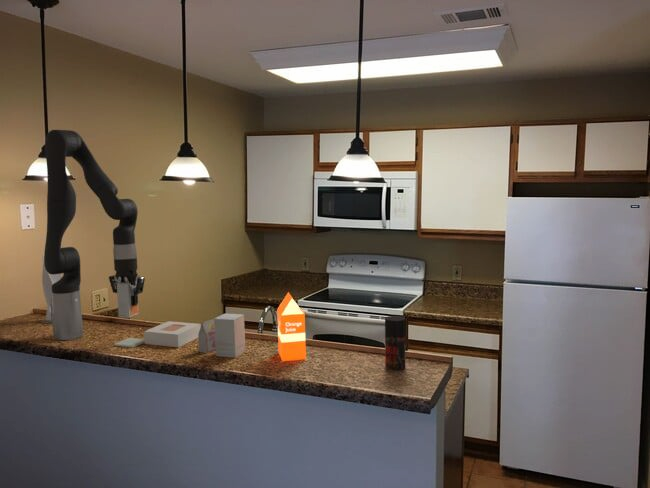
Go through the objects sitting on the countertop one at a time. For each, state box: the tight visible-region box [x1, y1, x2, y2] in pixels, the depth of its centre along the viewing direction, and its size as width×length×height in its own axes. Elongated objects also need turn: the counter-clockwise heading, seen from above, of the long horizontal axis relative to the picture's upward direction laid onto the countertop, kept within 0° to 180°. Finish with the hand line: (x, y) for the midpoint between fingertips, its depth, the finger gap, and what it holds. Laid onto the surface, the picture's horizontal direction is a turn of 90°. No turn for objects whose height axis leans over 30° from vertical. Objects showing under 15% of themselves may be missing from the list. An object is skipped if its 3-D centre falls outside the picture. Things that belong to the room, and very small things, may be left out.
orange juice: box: [276, 291, 307, 362], centre depth 172 cm, size 8×9×20 cm
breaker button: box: [163, 325, 184, 331], centre depth 193 cm, size 5×7×4 cm
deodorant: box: [384, 315, 406, 372], centre depth 160 cm, size 6×6×15 cm
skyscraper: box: [41, 253, 63, 325], centre depth 223 cm, size 8×8×28 cm
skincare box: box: [116, 282, 139, 319], centre depth 188 cm, size 6×4×12 cm
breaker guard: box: [143, 320, 201, 348], centre depth 193 cm, size 14×14×4 cm
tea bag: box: [197, 318, 216, 354], centre depth 181 cm, size 4×7×10 cm, turn 146°
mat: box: [113, 337, 145, 348], centre depth 190 cm, size 8×8×1 cm
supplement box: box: [213, 312, 247, 359], centre depth 176 cm, size 7×7×13 cm
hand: (128, 305), depth 189 cm, fingers closed on skincare box, 4 cm apart
